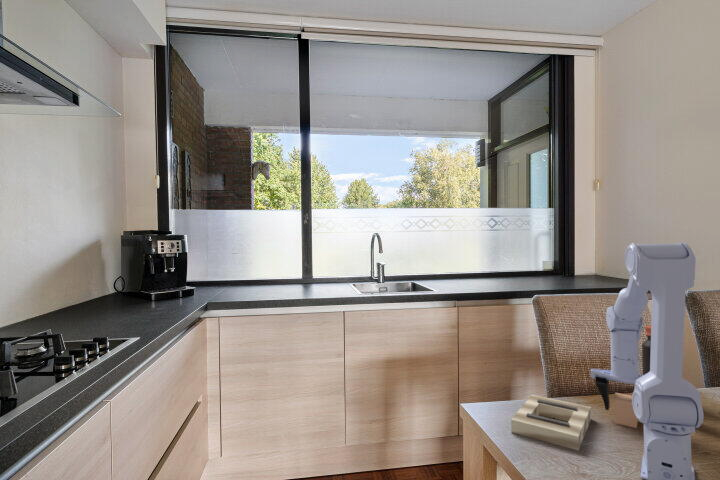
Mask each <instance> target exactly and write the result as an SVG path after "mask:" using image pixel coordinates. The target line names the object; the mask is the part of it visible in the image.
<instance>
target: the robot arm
mask: <svg viewBox="0 0 720 480" xmlns="http://www.w3.org/2000/svg"><path fill="white" fill-rule="evenodd" d="M696 261H697V259H696V255H695V253H694V252H693V249H692V248H691V247H690V245H688V243H686V242H678V243H677V242H676V243H629V245H628V246H627V248H626V249H625V252H624V263H625V267H626V270H627V271H628V274H629V279H628V283H627V287H625V288H622V289H621V290H620V291H619V293H618V295H617V298H616V300H615V303H614V305H611V306H608V307H607V308H606V312H605V319H606V322H605V323H606V326H607V328H608V331H609V332H610V333H609V334H610V335H609V337H610V369H596V368H591V369H590V378H591V379H595V381H594V383H595V386H596V388H597V389H598V391H599V393H600V395H601V399H602V402H603V404H604V409H605V411H609V410H610V396H609V391H610V390H609V387H610V385H609V383H610V382H611V381H612V382H617V383H623V384H628V385H634V389H633V392H632V395H631V396H632V406H633V410H634V413H635V415H636V417H637V418H638V421H639V422H640V423H642V424H643V454H642V458H641V469H640V478H641V479H643V480H696V476H695V468H694V466H693V465H692V434H695V433H696V429H697V428H700V427H701V425H703V422H704V410H703V406H702V396H701V393H700V391H699V390H698V389H697V387H695V385H694V384H692V383H691V382H689V381H688V380H686V379H685V378H683V366H684V365H683V363H684V361H683V360H684V343H685V342H684V337H685V336H684V335H685V312H686V311H685V310H686V291H687V290H690V289H691V288H693V287H695V278H696ZM648 292H650V293H651V321H650V322H651V324H650V326H651V353H650V372H648V373H647V374H645V375H643V374H640V353H639V352H640V349H639V348H640V347H639V341H640V340H641V338H642V330H643V326H644V325H643V324H644V322H643V314H644V312H645V311H646V307H647V306H648V304H649V297H648V295H647V293H648Z"/></svg>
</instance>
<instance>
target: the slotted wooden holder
mask: <svg viewBox="0 0 720 480" xmlns="http://www.w3.org/2000/svg"><path fill="white" fill-rule="evenodd" d="M549 417H550V418H549ZM553 418H555V419H553ZM557 419H559V420H557ZM562 420H563V421H562ZM591 421H592V406H587V405H583V404H579V403H574V402H570V401H563V400H559V399H556V398H555V399H554V398H550V397H544V396H540V395H535V394H531V395H530V396H529V398H528V399H526V401H525V402H524V403H523V404H522V405H521V407H520V408H519V409H518V411H516V413H515V414H514V415H513V417H512V418H511V420H510V422H511V423H510V425H511V426H510V427H511V428H510V430H511V432H510V433H513V434H516V435H517V434H518V435H520V436H524V437H528V438H530V439H534V440H538V441H541V442H546V443H550V444H553V445H557V446H561V447H564V448H568V449H571V450H575V451H579V450H580V447H581V445H582V444H583V440H584V438H585V436H586V434H587V430H588V428H589V425H590V423H591Z"/></svg>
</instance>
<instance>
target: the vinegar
mask: <svg viewBox="0 0 720 480" xmlns="http://www.w3.org/2000/svg"><path fill="white" fill-rule="evenodd" d="M645 336H646V337H647V338H646V340H645V341H643V342H642V343H641V359H642V360H641V361H642V362H641V363H642V369H641V370H642V375H645V374H647V373H648V372H650V353H651V325H646V326H645Z"/></svg>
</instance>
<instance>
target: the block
mask: <svg viewBox="0 0 720 480" xmlns="http://www.w3.org/2000/svg"><path fill="white" fill-rule="evenodd" d="M638 421H639V419H638V418H637V417H636V415H635V413H634V410H633V406H632V395H631V394H625V393H618V392H615V393H614V397H613V422H614V423H613V424H617V425H621V426H627V427H630V428H633V429H634V428H635V429H637V428H638V423H639V422H638Z"/></svg>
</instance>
